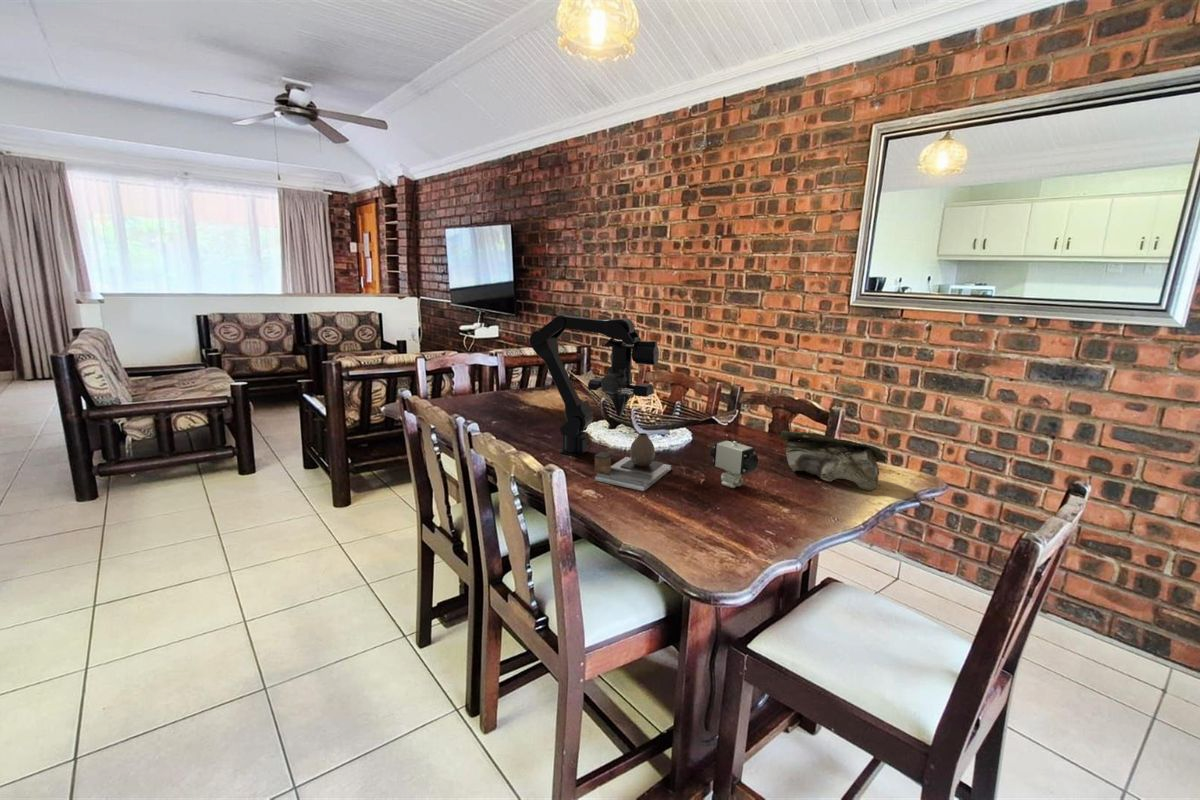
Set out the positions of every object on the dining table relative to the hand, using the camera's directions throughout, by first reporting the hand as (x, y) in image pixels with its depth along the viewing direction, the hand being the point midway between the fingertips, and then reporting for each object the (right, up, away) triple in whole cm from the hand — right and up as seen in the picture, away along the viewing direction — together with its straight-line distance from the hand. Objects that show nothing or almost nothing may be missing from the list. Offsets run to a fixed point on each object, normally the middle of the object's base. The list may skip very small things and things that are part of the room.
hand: (619, 415), depth 157 cm
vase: (+6, -14, -6) cm, 16 cm away
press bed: (+4, -16, -10) cm, 19 cm away
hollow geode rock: (+57, -17, -7) cm, 60 cm away
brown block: (-5, -15, -13) cm, 21 cm away
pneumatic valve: (+29, -18, -16) cm, 38 cm away
